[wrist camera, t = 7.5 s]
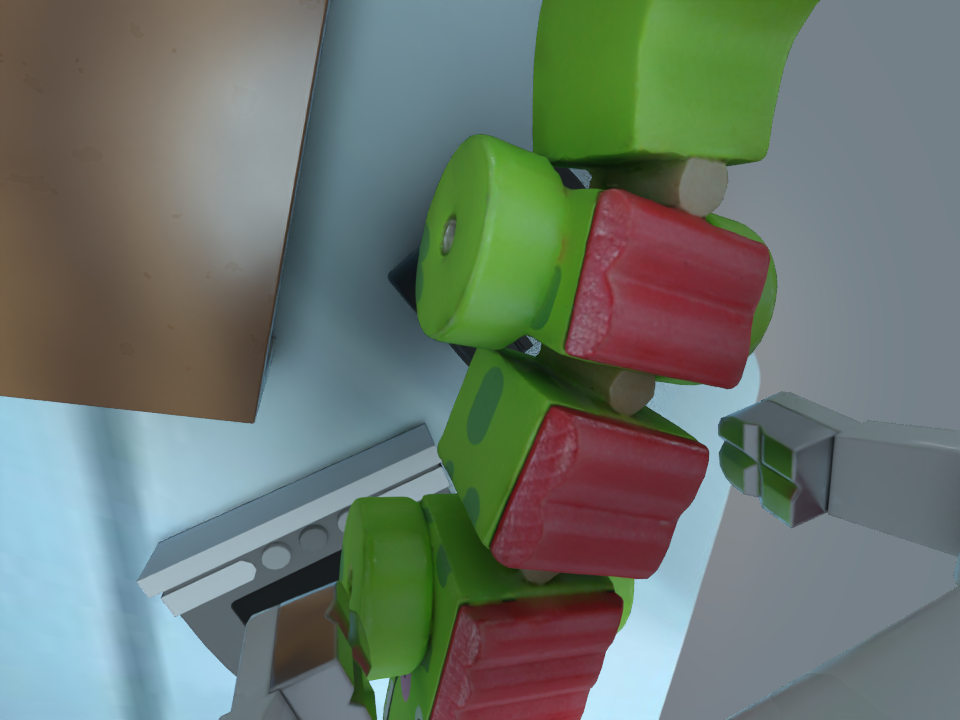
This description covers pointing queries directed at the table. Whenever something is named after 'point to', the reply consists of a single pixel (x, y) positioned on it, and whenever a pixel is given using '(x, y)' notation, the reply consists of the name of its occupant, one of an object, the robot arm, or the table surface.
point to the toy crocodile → (573, 354)
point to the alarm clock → (281, 541)
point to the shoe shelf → (149, 196)
